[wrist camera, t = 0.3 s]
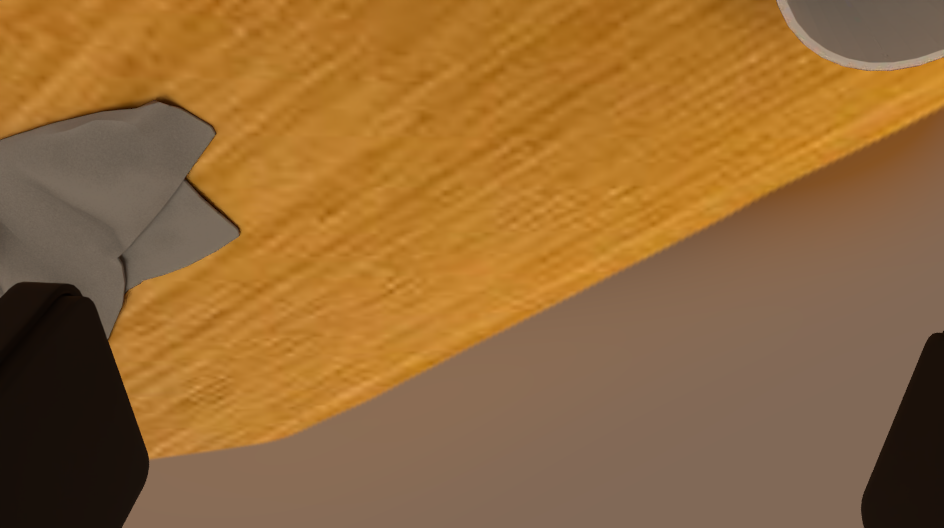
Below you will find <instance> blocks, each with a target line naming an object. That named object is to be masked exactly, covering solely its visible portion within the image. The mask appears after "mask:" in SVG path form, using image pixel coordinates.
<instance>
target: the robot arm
mask: <svg viewBox="0 0 944 528" xmlns="http://www.w3.org/2000/svg"><path fill="white" fill-rule="evenodd" d="M148 470H149V457H148V453H147V450H146V447H145V444H144V441H143V438H142V436H141V433H140V430H139V427H138V424H137V421H136V419H135V416H134V413H133V410H132V407H131V404H130V402H129V399H128V396H127V393H126V390H125V387H124V385H123V382H122V379H121V376H120V373H119V370H118V368H117V365H116V362H115V359H114V356H113V354H112V351H111V348H110V345H109V342H108V339H107V337H106V334H105V331H104V328H103V325H102V322H101V320H100V317H99V314H98V311H97V308H96V306H95V304H94V302H93V301H92V300H91V299H90V298H88V297H83V296H82V294H81V292H80V290H79V289H78V288H77V287H76V286H75V285H72V284H68V283H46V282H20V283H16V284H15V285H13V286H12V287H11V288H9V289H8V290H7V292H6V293H5V294H4V295H3V296H2V297H1V298H0V528H122V526H123V524H124V522H125V521H126V518H127V517H128V515H129V513H130V511H131V509H132V507H133V505H134V504H135V502H136V500H137V498H138V496H139V494H140V492H141V490H142V489H143V487H144V484H145V482H146V479H147V475H148ZM861 513H862V521H863V525H864V528H944V331H943V333H934V334H932V335H931V336H930V337H929V338H928V340H927V342H926V344H925V346H924V348H923V351H922V353H921V356H920V358H919V360H918V363H917V365H916V368H915V370H914V372H913V375H912V377H911V380H910V382H909V385H908V387H907V390H906V392H905V394H904V397H903V400H902V402H901V404H900V406H899V409H898V411H897V414H896V416H895V419H894V421H893V424H892V426H891V429H890V431H889V433H888V436H887V438H886V440H885V443H884V446H883V448H882V450H881V453H880V455H879V457H878V460H877V462H876V465H875V467H874V470H873V472H872V474H871V477H870V479H869V482H868V484H867V486H866V489H865V491H864V494H863V498H862V504H861Z"/></svg>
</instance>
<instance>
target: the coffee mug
mask: <svg viewBox="0 0 944 528" xmlns="http://www.w3.org/2000/svg"><path fill="white" fill-rule="evenodd" d="M776 2H777V5H778V7H779V9H780V11H781V13H782V15H783V17H784V19H785V21H786V23H787V25H788V27H789V28H790V29H791V30H792V31H793V33H794V34H795V35H796V36H797V37H798V38H799V40H800V41H801V42H802V43H803V44H804V45H805V46H807V47H808V48H810V49H811V50H812V51H814V52H815V53H816V54H818V55H819V56H821V57H822V58H825V59H827V60H829V61H832V62H834V63H837V64H839V65H841V66H845V67H850V68H855V69H860V70H866V71H892V70H898V69H904V68H909V67H915V66H919V65H922V64H925V63H928V62H931V61H934V60H937V59H940V58H943V57H944V0H776Z"/></svg>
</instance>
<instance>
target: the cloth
mask: <svg viewBox="0 0 944 528" xmlns="http://www.w3.org/2000/svg"><path fill="white" fill-rule="evenodd" d="M215 135H216V132H215V131H214V129H213V127H212V126H211V125H209V124H208V123H206V122H204V121H202V120H201V119H199V118H197V117H196V116H194V115H192V114H190V113H189V112H187V111H185V110H184V109H182V108H179V107H175V106H172V105H168V104H164V103H161V102H158V101H156V100H153V101H151V102H149V103H147V104H145V105H143V106H141V107H139V108H136V109H125V110H114V111H104V112H98V113H94V114H90V115H86V116H82V117H77V118H73V119H69V120H65V121H61V122H57V123H52V124H49V125H46V126H43V127H40V128H37V129H33V130H30V131H27V132H24V133H21V134H18V135H14V136H11V137H8V138H5V139H2V140H0V298H1V297H2V296H3V295H4V294H5V293H6V292H7V290H8V289H9V288H11V287H12V286H13V285H15V284H16V283H20V282H46V283H68V284H72V285H75V286H76V287H77V288H78V289H79V290H80V292H81V294H82V296H83V297H88V298H90V299H91V300H92V301H93V302H94V304H95V306H96V308H97V311H98V314H99V317H100V320H101V322H102V325H103V328H104V331H105V334H106V337H107V339H108V338H109V336H110V333H111V331H112V328H113V326H114V324H115V321H116V319H117V317H118V314H119V312H120V309H121V307H122V305H123V300H124V294H125V293H126V292H127V291H128V290H129V289H131V288H133V287H135V286H137V285H139V284H141V282H142V281H143V280H147V279H151V278H154V277H158V276H162V275H165V274H168V273H170V272H173V271H176V270H178V269H181V268H184V267H187V266H189V265H190V264H192V263H194V262H196V261H198V260H200V259H202V258H204V257H206V256H208V255H210V254H212V253H214V252H216V251H217V250H219V249H220V248H222V247H223V246H225V245H226V244H228V243H229V242H231V241H233V240H234V239H236V238H237V237H239V235H240V234H239V229H238V228H237V227H236V226H235V225H234V224H232V223H231V222H230V221H229V220H228V219H227V218H225V217H224V216H223V215H222V214H221V213H220V212H218V211H217V210H216V209H215V208H214V207H213V206H211V205H210V204H209V203H208V202H207V201H206V200H204V199H203V198H202V197H201V196H200V195H199V194H198V193H197V191H196V190H195V189H194V188H193V187H192V186H191V185H190V184H189V183H188V182H187V181H186V180H185V179H184V178H185V177H186V175H187V174H188V172H189V171H190V170H191V168H192V167H193V165H194V164H195V162H196V161H197V160H198V158H199V157H200V155H201V154H202V153H203V151H204V150H205V148H206V147H207V146H208V144H209V143H210V141H211V140H212V139H213V137H214V136H215Z"/></svg>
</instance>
